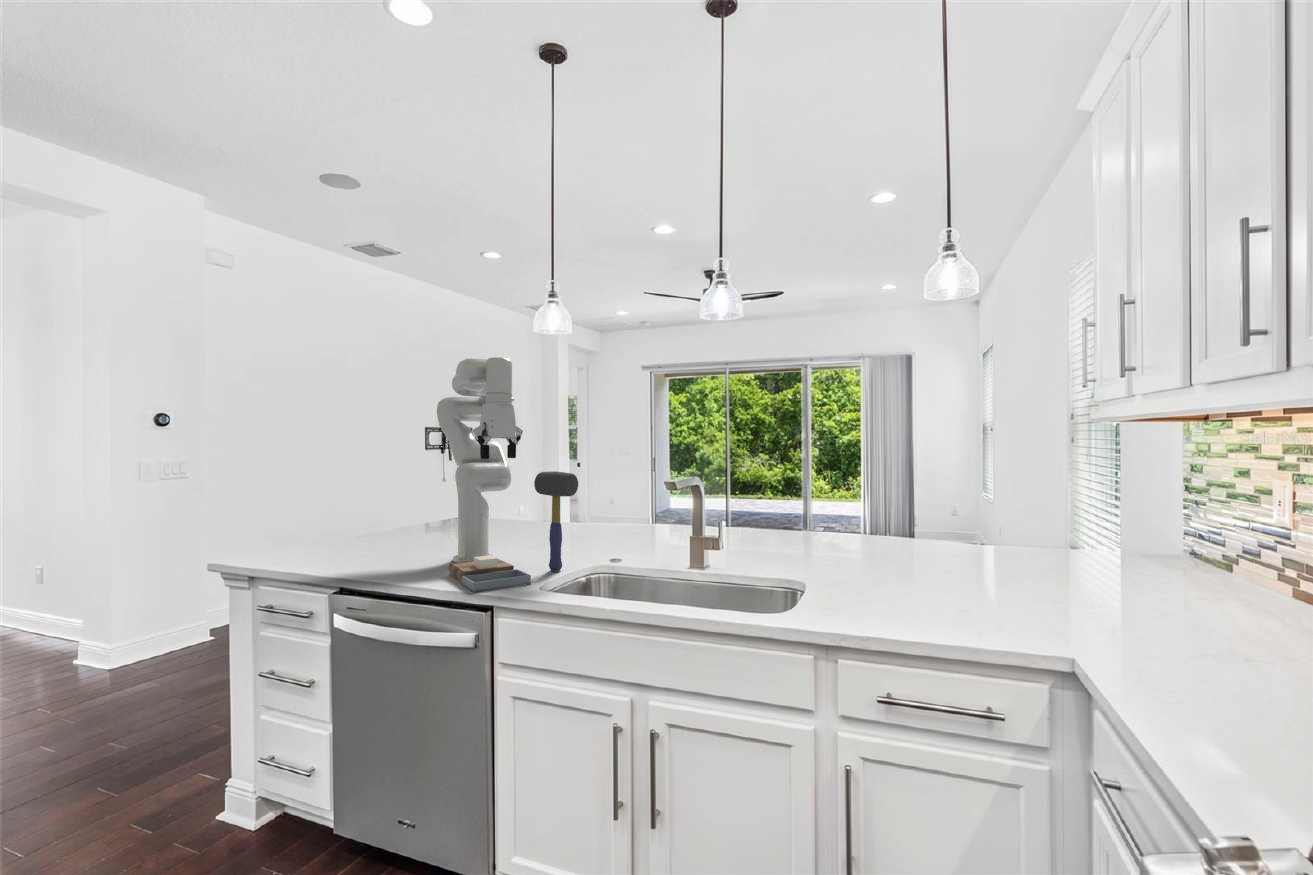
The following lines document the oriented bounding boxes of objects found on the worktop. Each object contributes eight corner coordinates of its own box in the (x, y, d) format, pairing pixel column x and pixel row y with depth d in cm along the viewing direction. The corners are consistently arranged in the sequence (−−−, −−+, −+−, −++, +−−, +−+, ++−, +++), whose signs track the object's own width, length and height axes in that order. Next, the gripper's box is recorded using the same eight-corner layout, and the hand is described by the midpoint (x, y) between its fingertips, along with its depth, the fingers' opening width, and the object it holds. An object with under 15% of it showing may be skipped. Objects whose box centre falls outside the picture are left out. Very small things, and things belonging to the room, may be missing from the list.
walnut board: (449, 575, 179) (449, 563, 179) (495, 569, 187) (495, 557, 187) (464, 584, 168) (465, 571, 168) (513, 578, 176) (513, 565, 176)
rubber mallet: (579, 571, 186) (580, 471, 186) (563, 576, 179) (564, 472, 179) (547, 566, 192) (548, 470, 192) (531, 570, 186) (532, 471, 186)
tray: (461, 585, 167) (462, 576, 167) (517, 577, 177) (517, 569, 177) (473, 592, 160) (473, 582, 160) (530, 584, 169) (530, 575, 169)
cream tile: (473, 565, 176) (473, 557, 176) (490, 563, 179) (490, 555, 179) (479, 569, 172) (479, 560, 172) (497, 567, 175) (497, 558, 174)
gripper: (513, 401, 190) (513, 457, 190) (465, 398, 176) (465, 458, 176) (530, 401, 185) (529, 458, 185) (482, 398, 172) (481, 459, 172)
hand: (498, 458), depth 181 cm, fingers open, 9 cm apart
